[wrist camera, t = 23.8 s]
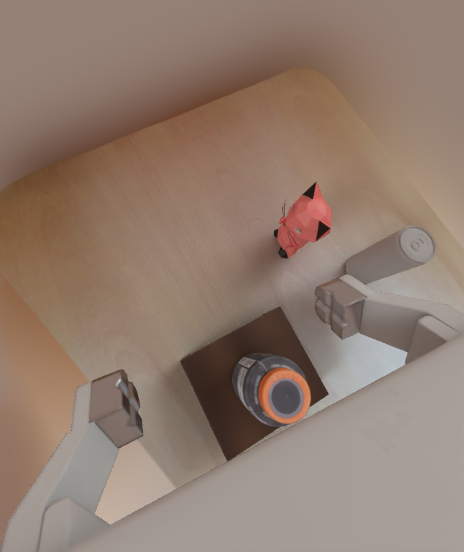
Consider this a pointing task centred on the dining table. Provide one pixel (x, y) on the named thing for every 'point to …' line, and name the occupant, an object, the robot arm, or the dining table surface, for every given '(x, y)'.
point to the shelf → (219, 369)
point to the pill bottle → (272, 388)
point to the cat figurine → (304, 222)
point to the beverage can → (392, 255)
